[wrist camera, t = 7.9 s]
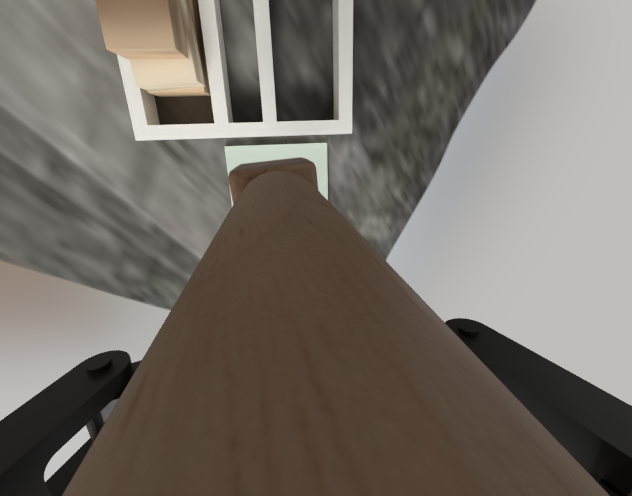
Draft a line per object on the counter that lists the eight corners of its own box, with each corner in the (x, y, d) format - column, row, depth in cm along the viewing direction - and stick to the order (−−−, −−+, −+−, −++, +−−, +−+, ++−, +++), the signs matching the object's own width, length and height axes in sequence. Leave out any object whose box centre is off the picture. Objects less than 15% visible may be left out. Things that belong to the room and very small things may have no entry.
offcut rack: (103, -85, 24) (6, -205, 15) (346, -78, 26) (378, -183, 17) (149, 140, 30) (97, 142, 21) (345, 133, 31) (369, 133, 23)
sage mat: (225, 146, 30) (224, 146, 30) (326, 142, 31) (326, 142, 31) (239, 259, 35) (238, 261, 34) (328, 253, 35) (328, 254, 35)
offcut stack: (135, -25, 25) (64, -104, 17) (197, -24, 26) (158, -101, 17) (158, 97, 28) (107, 81, 20) (213, 95, 29) (186, 79, 20)
